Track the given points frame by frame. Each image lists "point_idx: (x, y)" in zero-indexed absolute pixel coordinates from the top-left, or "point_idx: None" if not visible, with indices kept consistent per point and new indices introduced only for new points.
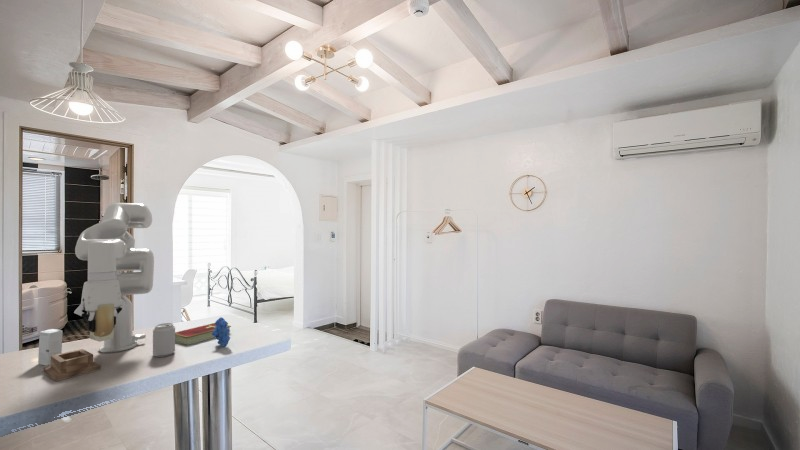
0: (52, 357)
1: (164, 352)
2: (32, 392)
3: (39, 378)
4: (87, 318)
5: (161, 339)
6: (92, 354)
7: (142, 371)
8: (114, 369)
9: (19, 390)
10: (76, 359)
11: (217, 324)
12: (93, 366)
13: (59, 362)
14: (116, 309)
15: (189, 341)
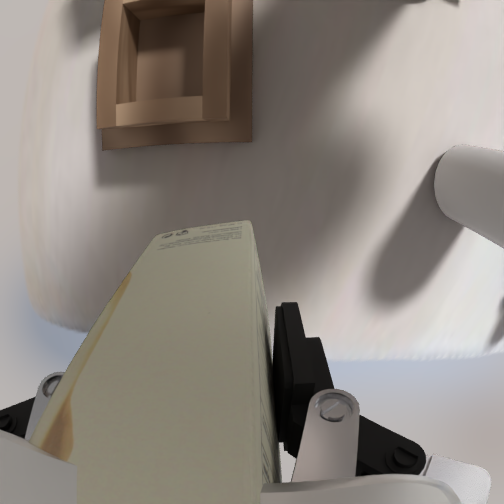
0: (103, 15)
1: (454, 220)
2: (56, 206)
3: (88, 70)
4: None
5: (482, 231)
6: (224, 112)
7: (330, 301)
8: (285, 191)
9: (37, 155)
10: (155, 122)
11: None
12: (227, 133)
13: (99, 112)
14: (371, 467)
15: None
